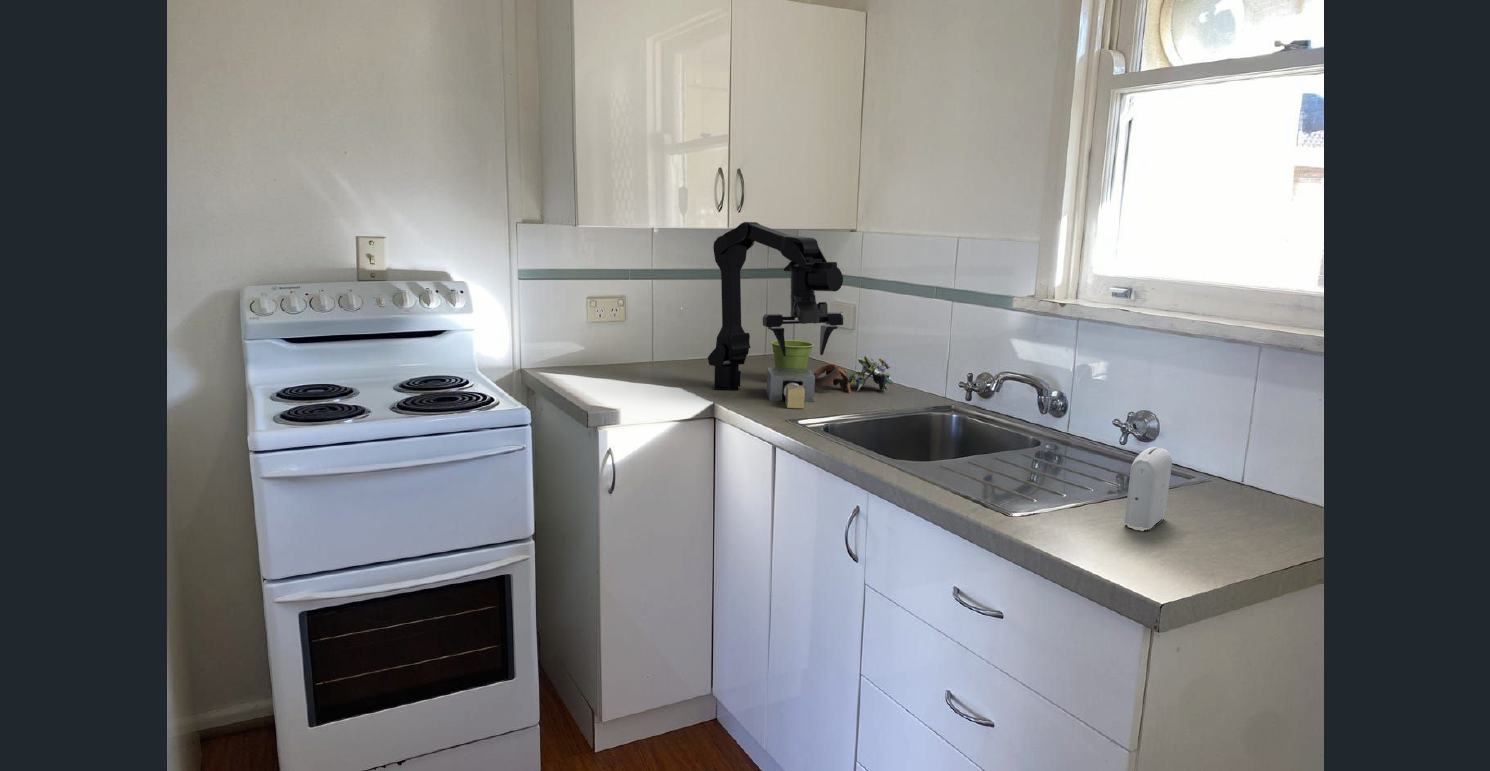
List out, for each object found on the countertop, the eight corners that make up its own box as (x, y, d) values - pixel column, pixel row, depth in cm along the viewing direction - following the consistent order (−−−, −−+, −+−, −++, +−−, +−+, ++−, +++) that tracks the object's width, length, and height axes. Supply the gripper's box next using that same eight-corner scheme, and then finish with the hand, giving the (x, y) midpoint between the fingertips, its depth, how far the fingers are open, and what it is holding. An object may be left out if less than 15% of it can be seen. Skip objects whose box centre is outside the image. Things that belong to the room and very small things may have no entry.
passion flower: (879, 410, 247) (904, 379, 240) (848, 406, 241) (873, 374, 234) (863, 380, 254) (886, 350, 247) (832, 376, 248) (856, 344, 242)
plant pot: (805, 389, 244) (807, 347, 242) (763, 385, 248) (764, 344, 246) (816, 381, 255) (818, 341, 253) (775, 377, 259) (777, 338, 257)
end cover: (779, 392, 237) (780, 375, 237) (796, 393, 238) (797, 375, 237) (786, 407, 220) (787, 389, 219) (804, 408, 221) (805, 389, 220)
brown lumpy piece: (854, 397, 239) (841, 371, 236) (820, 410, 241) (807, 384, 238) (852, 377, 250) (840, 352, 247) (820, 390, 252) (808, 365, 249)
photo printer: (1148, 534, 142) (1158, 457, 140) (1120, 527, 145) (1129, 452, 143) (1168, 518, 150) (1177, 445, 148) (1141, 512, 153) (1150, 440, 150)
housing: (766, 391, 239) (767, 367, 238) (808, 392, 240) (809, 368, 239) (770, 400, 229) (771, 375, 227) (813, 401, 229) (815, 376, 228)
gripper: (770, 292, 210) (771, 360, 212) (849, 291, 212) (849, 358, 215) (761, 290, 220) (762, 355, 223) (837, 289, 223) (837, 353, 226)
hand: (802, 355), depth 221 cm, fingers open, 9 cm apart
